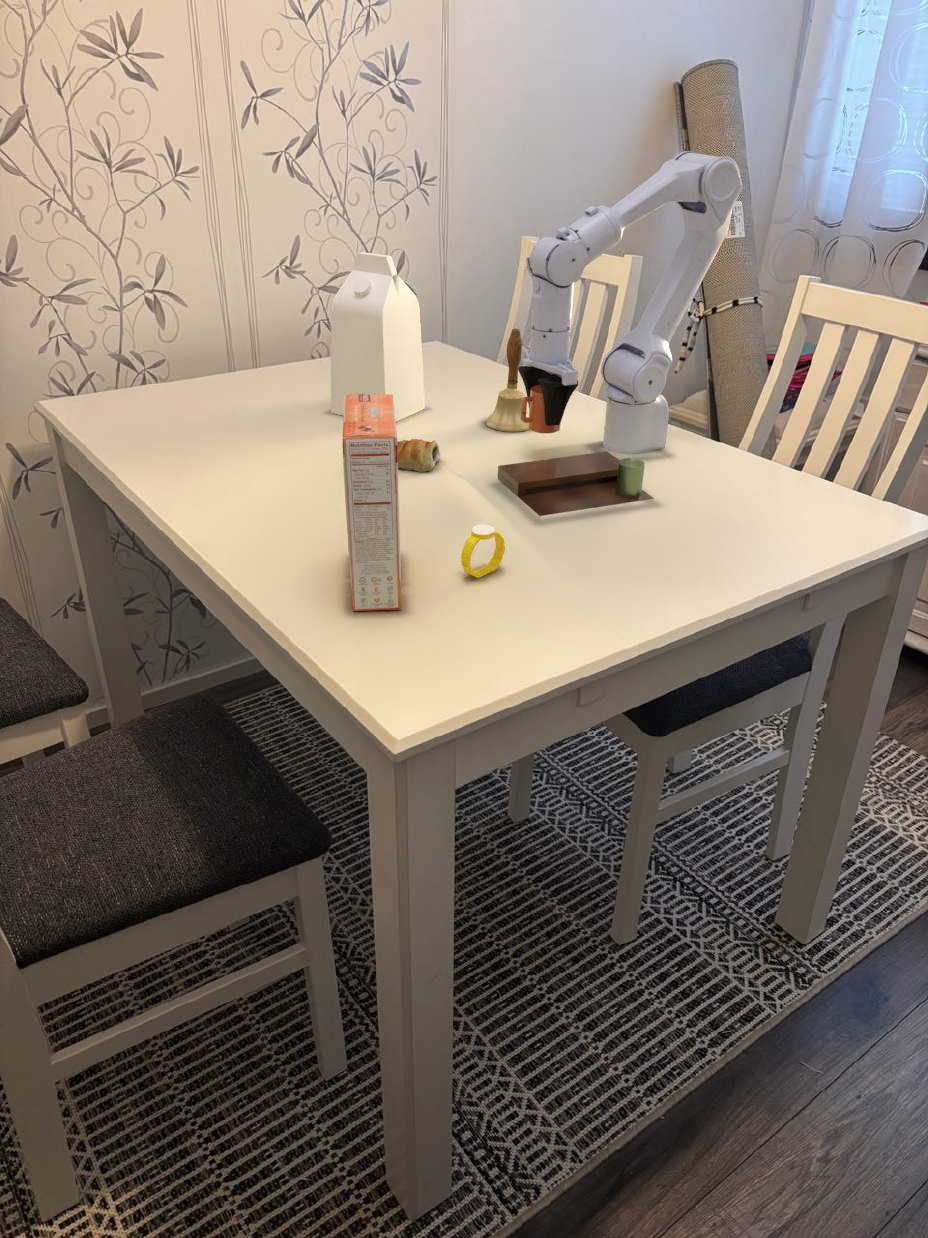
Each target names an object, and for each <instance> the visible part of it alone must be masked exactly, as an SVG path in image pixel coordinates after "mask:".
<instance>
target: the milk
mask: <svg viewBox="0 0 928 1238" xmlns="http://www.w3.org/2000/svg"><path fill="white" fill-rule="evenodd" d="M421 327H422V325H421V307H420V302H419V300H418V298H417V295H416V294H415V293H414V292H413V291H412V289H411V288H410V287H409V286H408V285H407V284H406V282H405V281H404V280H403V279H402V278H401V277H400V276H399V275H398V272H397V269H396V266H395V262H394V260H393V256H392V255H388V254H387V255H386V254H379V253H373V252H365V251H361V252H357V254H356V257H355V260H354V264H353V267H352V270H351V271H350V273H349V274H348V276H347V277H346V279H345V280H344V282H343V283H342V285H341V287H340V288H339V289H338V291H337V292H336V294H335V296H334V297H333V300H332V302H331V309H330V413H331V414H336V415H339V416H342V417H344V403H345V395H352V394H367V395H380V394H393V399H394V409H395V419H396V423H397V422H399V421H400V420H403V419H405V418H407V417H410V416H412V415H414V414H416V413H418V412H421V411H423V410H425V409H426V401H425V400H426V399H425V381H424V380H425V379H424V363H423V362H424V361H423V345H422V328H421Z"/></svg>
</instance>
